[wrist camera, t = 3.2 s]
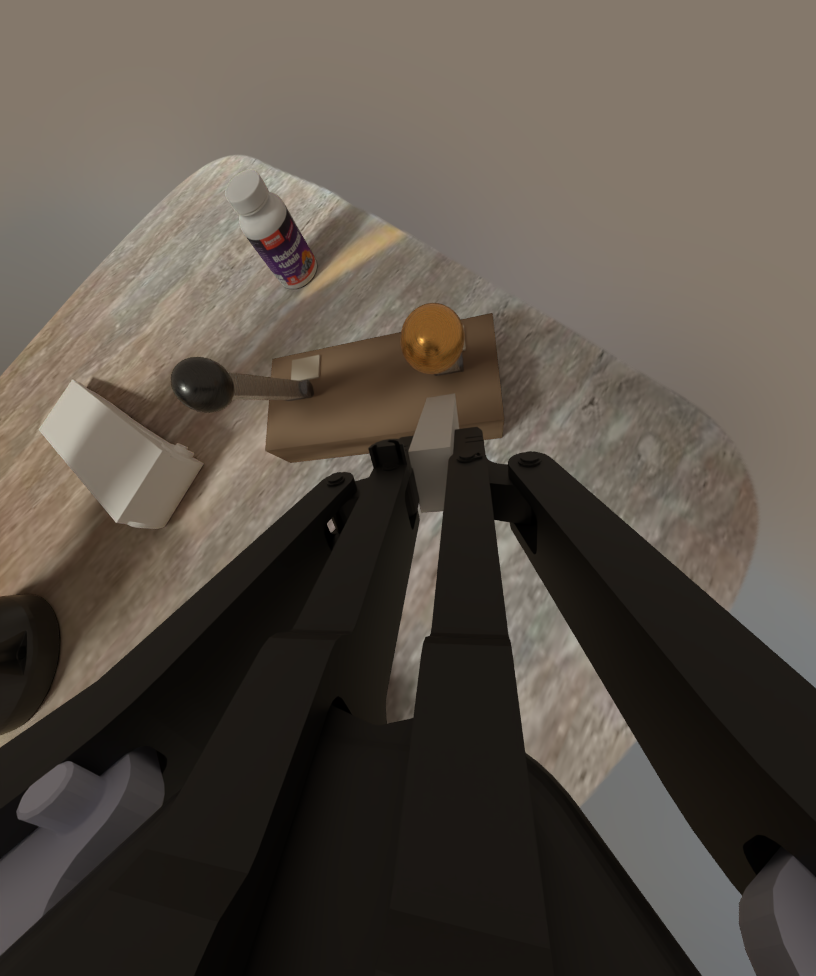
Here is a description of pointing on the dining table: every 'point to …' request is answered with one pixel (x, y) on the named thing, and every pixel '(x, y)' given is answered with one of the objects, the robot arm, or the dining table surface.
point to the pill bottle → (271, 229)
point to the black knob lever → (229, 386)
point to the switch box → (379, 395)
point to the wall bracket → (119, 458)
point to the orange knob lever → (433, 340)
